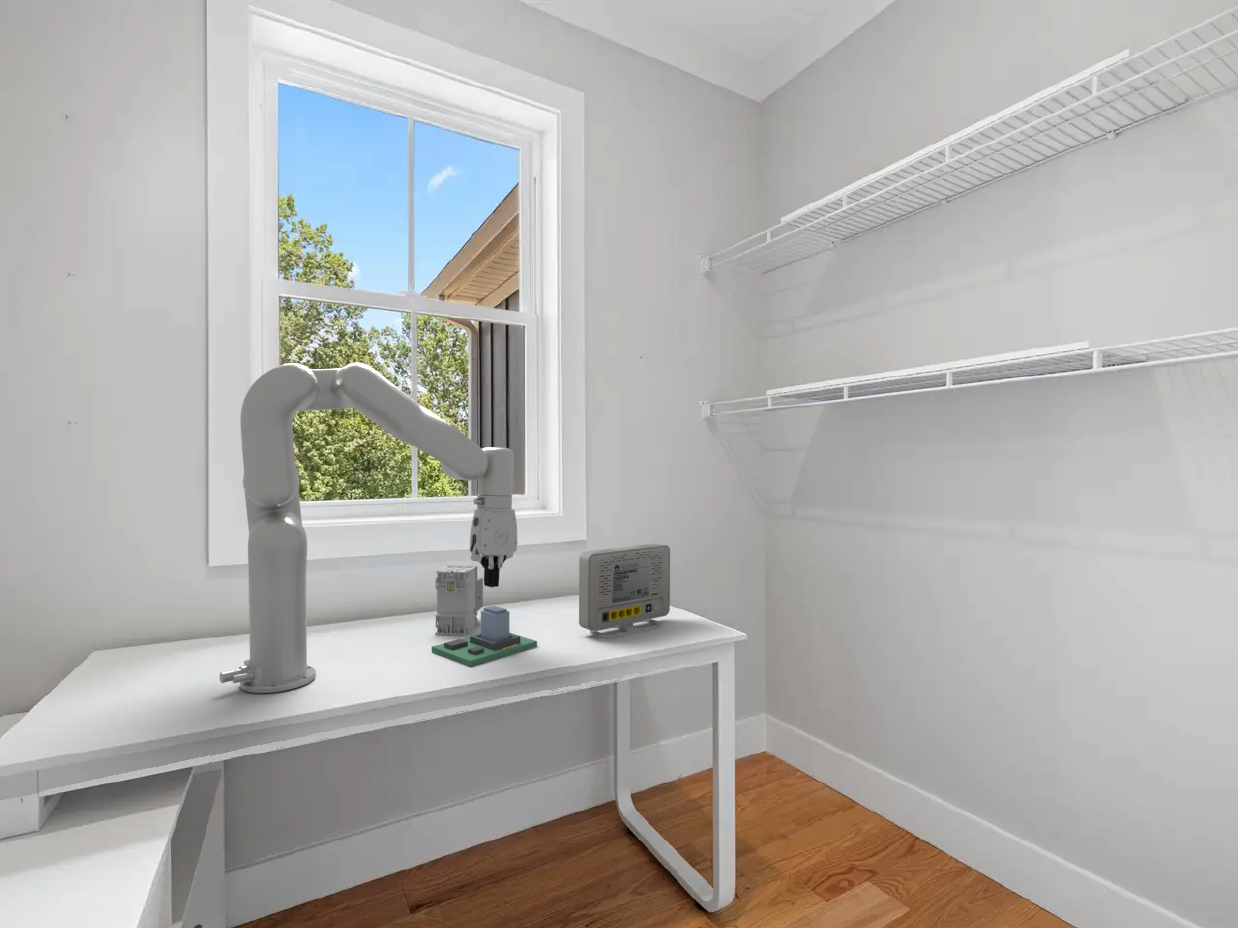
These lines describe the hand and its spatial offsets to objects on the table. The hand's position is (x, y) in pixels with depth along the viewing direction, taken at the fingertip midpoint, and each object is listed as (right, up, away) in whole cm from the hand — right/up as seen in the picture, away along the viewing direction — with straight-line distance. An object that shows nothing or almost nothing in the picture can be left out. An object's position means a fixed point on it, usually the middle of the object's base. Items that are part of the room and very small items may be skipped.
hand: (491, 585), depth 140 cm
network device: (+30, -14, +16) cm, 37 cm away
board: (-1, -14, 0) cm, 14 cm away
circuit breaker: (-11, -14, +18) cm, 25 cm away
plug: (+1, -13, +1) cm, 13 cm away
